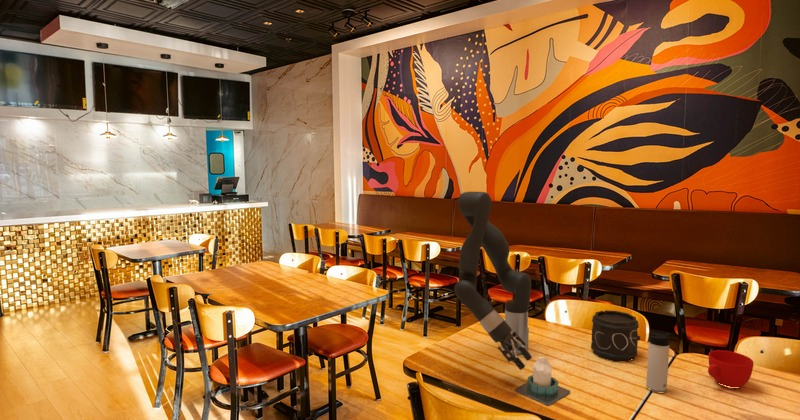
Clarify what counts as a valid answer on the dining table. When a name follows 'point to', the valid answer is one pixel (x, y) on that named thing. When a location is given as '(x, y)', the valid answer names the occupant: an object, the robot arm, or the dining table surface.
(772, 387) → the dining table surface
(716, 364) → the ceramic cup
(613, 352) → the black coffee canister
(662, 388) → the travel mug
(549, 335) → the dining table surface
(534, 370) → the white crystal
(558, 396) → the socket plate
